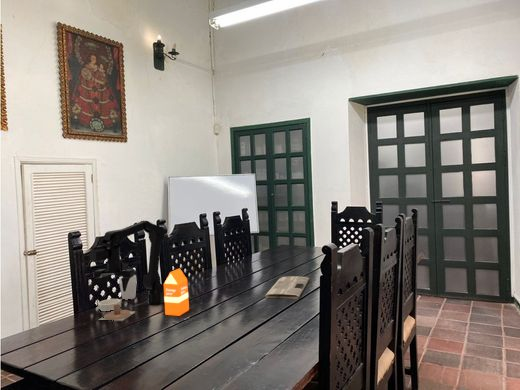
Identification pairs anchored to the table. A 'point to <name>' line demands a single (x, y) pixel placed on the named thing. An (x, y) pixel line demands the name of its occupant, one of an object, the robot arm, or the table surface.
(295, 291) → the newspaper
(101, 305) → the bowl
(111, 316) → the lid
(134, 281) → the cup
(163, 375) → the table surface
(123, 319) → the mat
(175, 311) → the orange juice
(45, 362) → the table surface
